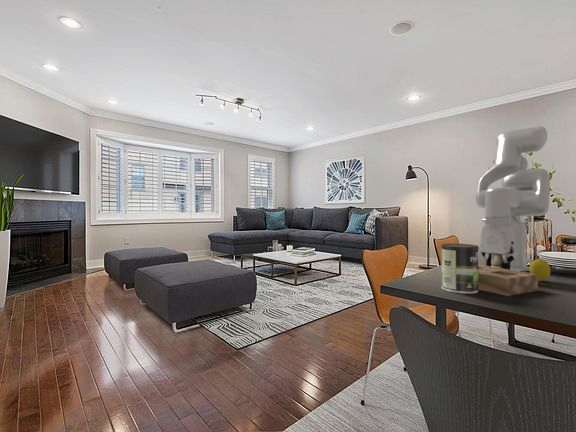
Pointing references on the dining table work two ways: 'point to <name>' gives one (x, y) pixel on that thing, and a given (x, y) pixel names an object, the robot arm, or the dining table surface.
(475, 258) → the coffee can
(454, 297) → the dining table surface
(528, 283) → the mortise block
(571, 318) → the dining table surface
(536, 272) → the lemon
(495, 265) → the dowel
